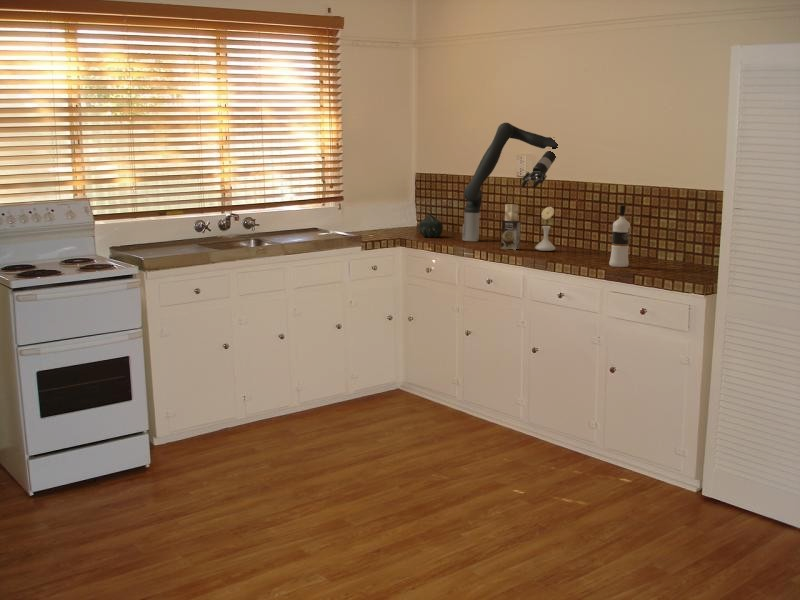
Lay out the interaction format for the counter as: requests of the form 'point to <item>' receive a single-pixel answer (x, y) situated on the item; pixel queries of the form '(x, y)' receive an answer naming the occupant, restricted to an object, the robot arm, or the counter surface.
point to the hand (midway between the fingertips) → (527, 186)
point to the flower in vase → (546, 231)
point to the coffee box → (510, 234)
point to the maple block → (511, 212)
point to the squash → (430, 227)
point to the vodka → (620, 241)
